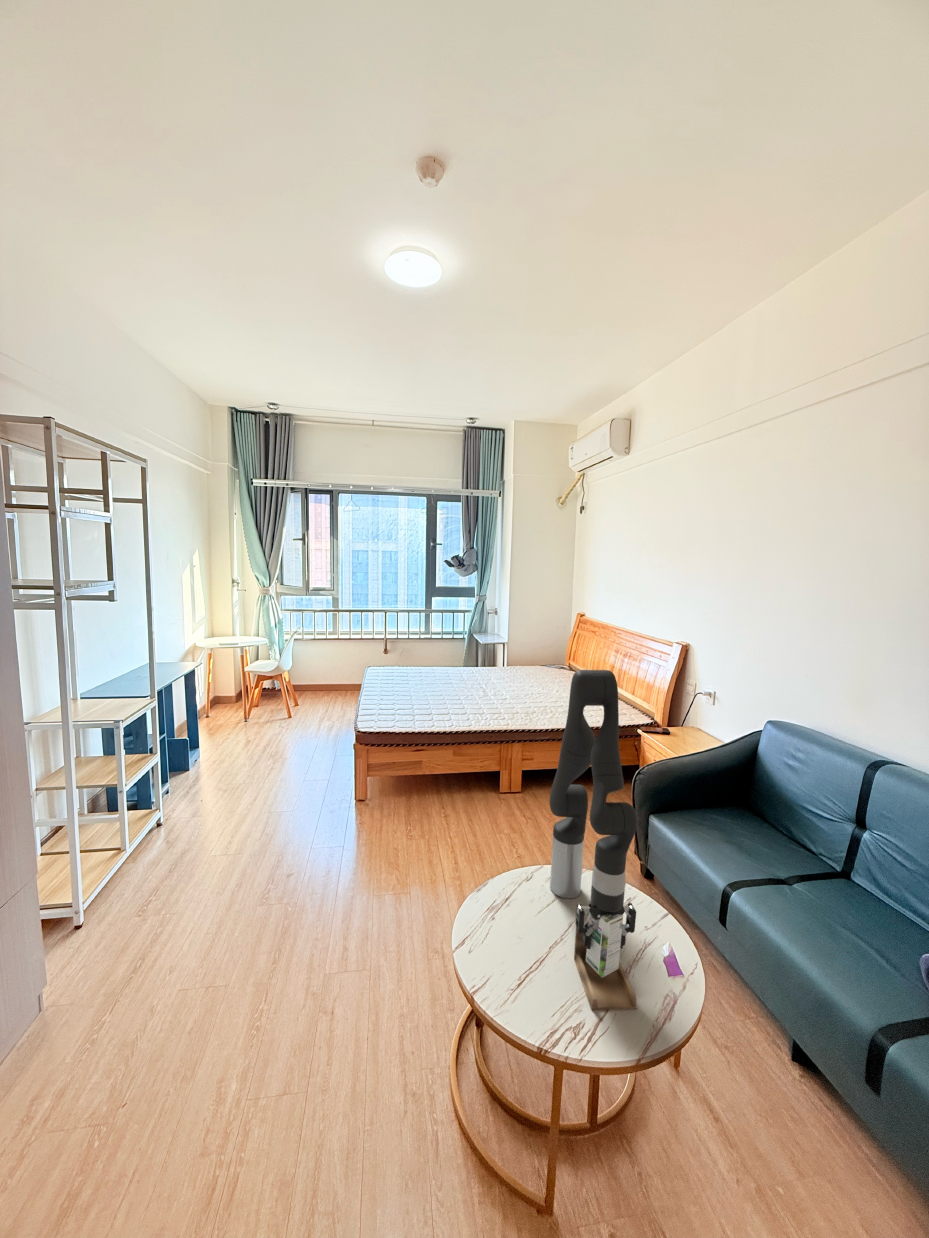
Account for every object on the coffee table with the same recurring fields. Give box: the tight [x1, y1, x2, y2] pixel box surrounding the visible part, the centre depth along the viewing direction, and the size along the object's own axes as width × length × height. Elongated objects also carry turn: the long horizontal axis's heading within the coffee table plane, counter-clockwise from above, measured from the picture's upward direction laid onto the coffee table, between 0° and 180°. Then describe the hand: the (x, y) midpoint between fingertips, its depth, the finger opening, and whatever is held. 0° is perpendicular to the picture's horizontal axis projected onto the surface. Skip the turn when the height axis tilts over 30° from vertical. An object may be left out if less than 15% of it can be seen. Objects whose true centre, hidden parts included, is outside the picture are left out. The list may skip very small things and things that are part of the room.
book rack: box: [573, 921, 637, 1011], centre depth 116 cm, size 14×10×10 cm
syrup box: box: [586, 913, 624, 978], centre depth 117 cm, size 6×6×14 cm
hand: (603, 946), depth 117 cm, fingers closed on syrup box, 7 cm apart
